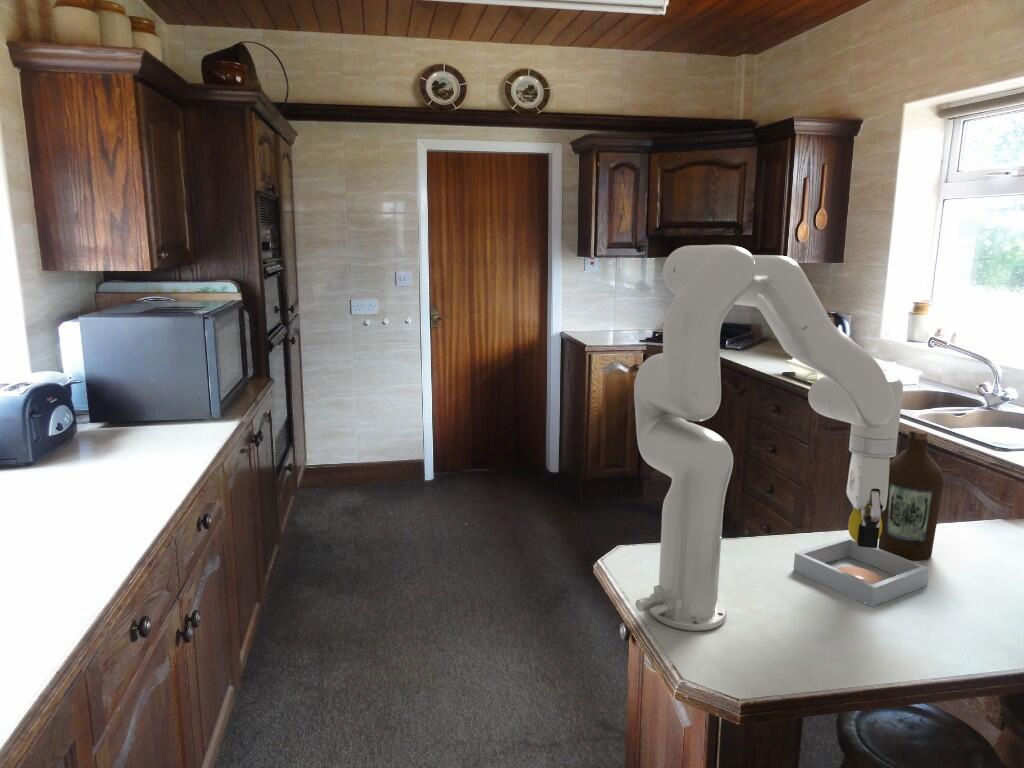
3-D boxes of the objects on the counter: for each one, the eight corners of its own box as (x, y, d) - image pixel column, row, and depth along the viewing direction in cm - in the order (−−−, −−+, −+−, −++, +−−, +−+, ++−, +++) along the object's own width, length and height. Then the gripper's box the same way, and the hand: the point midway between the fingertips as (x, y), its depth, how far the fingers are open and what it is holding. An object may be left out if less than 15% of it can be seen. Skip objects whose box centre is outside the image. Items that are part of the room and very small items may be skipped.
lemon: (873, 555, 125) (877, 513, 124) (841, 546, 129) (845, 504, 128) (884, 546, 129) (888, 505, 127) (853, 538, 133) (857, 497, 131)
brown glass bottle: (878, 536, 149) (890, 422, 145) (936, 548, 144) (951, 429, 139) (871, 554, 140) (885, 433, 136) (933, 567, 135) (949, 441, 130)
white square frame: (872, 607, 119) (874, 587, 119) (793, 570, 133) (795, 552, 132) (926, 585, 127) (929, 567, 127) (847, 553, 141) (848, 536, 140)
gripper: (841, 431, 135) (833, 520, 138) (859, 456, 118) (850, 556, 122) (884, 433, 133) (875, 524, 136) (909, 459, 116) (898, 561, 120)
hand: (863, 538), depth 129 cm, fingers closed on lemon, 5 cm apart
